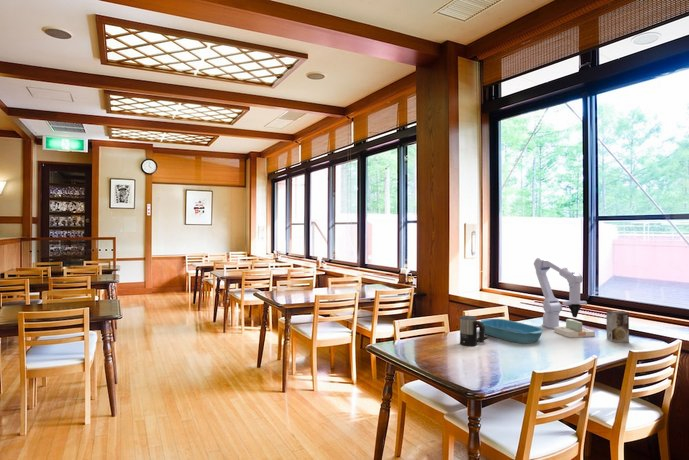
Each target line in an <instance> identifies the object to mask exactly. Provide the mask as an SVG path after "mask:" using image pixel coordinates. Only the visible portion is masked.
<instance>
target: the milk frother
mask: <svg viewBox="0 0 689 460" xmlns="http://www.w3.org/2000/svg"><path fill="white" fill-rule="evenodd" d="M477 318H478V317H476V316H473V315H461V316H459V345H461V346H465V347H475V346H477V345H478V343H484V342H485V341H487V340H488V339H489V338H490V337H489V336H485V327H484V324H483V323H482V322H480V321H481V320H477ZM477 328H478V329H479V331H478V329H477Z"/></svg>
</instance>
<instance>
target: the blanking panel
mask: <svg viewBox="0 0 689 460" xmlns="http://www.w3.org/2000/svg"><path fill="white" fill-rule="evenodd" d="M565 327H566V328H568V329H571V330H574V331H577V332H579V331H582V327H583V322H582V321H578V320H575V319H572V318H566V319H565Z"/></svg>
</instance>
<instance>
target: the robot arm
mask: <svg viewBox="0 0 689 460" xmlns="http://www.w3.org/2000/svg"><path fill="white" fill-rule="evenodd" d="M533 266H534V269H535V274H536V277H537V280H538V282H539V286H540V288H541V291H542V294H543V297H544V300H543V301H542V304H543V305H542V306H543V307H542V308H543V311H544V313H543V315H542V324H541V326H543V327H545V328H547V329H550V330H552V329H553V330H554V327H560V313H561V311H562V309H563V306H568V308H569V310H570V313H571V316H572V318H577V317H578V314H579V312H580V309H581V308H582V305H583V306H584V305H585V306H586V305H588V302H587V301H586V300H581V284H582V282H583V280H584V278H583V276H582V274H581V273H575V271H573V270H571V269H569V267H565V266H564V267H562V266H561V265H559V264H558V263H556V262H555V261H554V259H553V258H551V257H543V258H542V257H541V258H540V257H537V258H535V260H534V262H533ZM551 269H552V270H555V271H556V272H558V274H559V275H560V276H561V277H562V278H563V279H565V280H566V281H567V282H568V287H569V288H568V289H569V293H568V295H569V298H568V299H569V300H567V301H566V300H565V301H562V303H560V301H559V299H558V298H556V297H555V295H554V292H553V290H552V287H551V285H550V281H549V279H548V276H547V272H549V270H551ZM562 305H563V306H562Z"/></svg>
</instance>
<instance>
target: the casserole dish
mask: <svg viewBox="0 0 689 460" xmlns="http://www.w3.org/2000/svg"><path fill="white" fill-rule="evenodd" d="M479 321H480V322H482V323H483V324H484V327H485V333H484V335H486V336H490V337H493V338H497V339H502V340H504V341H509V342H513V343H517V344H530V343H533V342H536V341H538V340H540V338H541V336H542V333H543V331H544V329H543V328H542V327H539V326H535V325H532V324H531V325H530V324H526V323H522V322H519V321H518V322H517V321H512V320H509V319H503V318H485V319H480V320H479Z"/></svg>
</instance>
